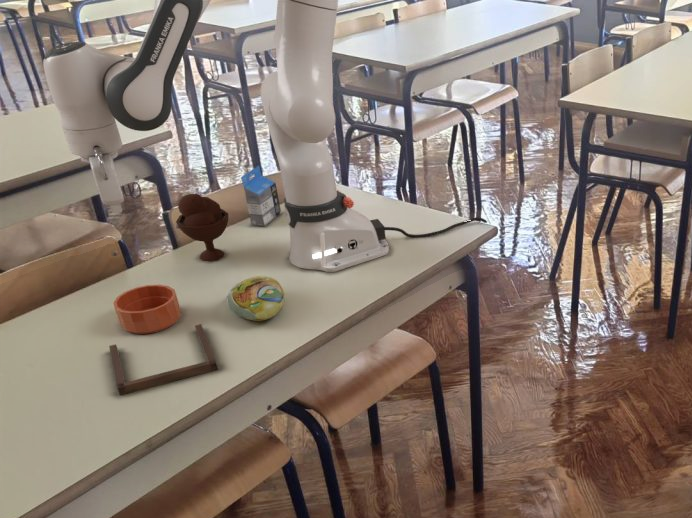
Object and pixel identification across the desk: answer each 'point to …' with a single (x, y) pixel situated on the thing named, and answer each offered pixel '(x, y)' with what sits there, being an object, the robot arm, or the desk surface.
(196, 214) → the ice cream bowl
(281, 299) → the cell model
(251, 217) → the blue and grey box
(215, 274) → the desk surface
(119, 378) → the frame
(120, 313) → the bowl
